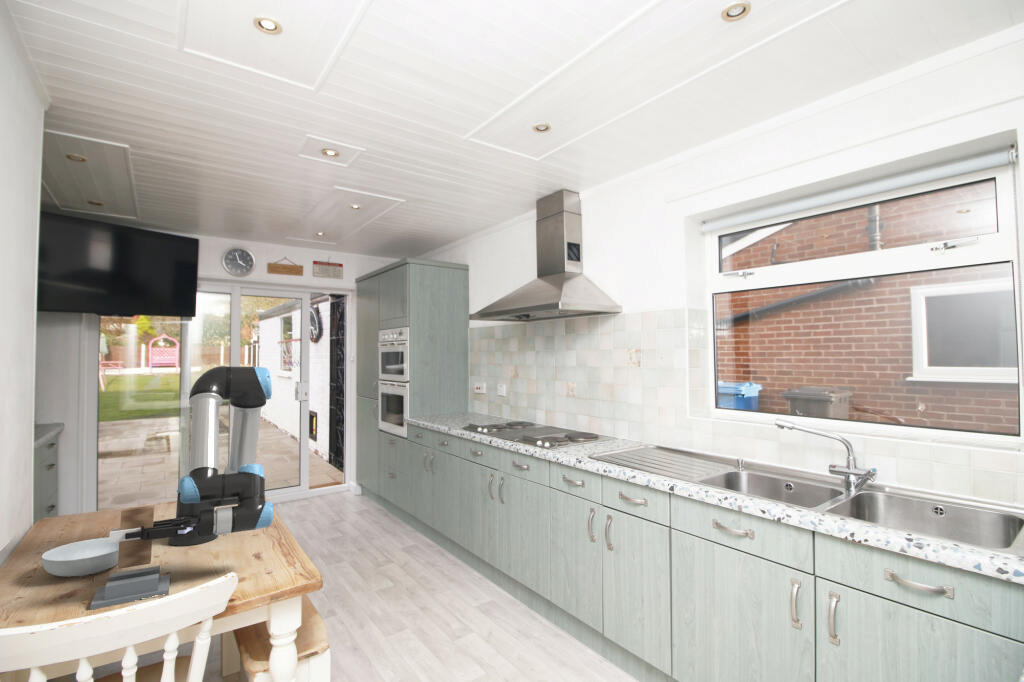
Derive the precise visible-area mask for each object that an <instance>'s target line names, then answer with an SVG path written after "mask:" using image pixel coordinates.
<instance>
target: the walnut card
mask: <svg viewBox="0 0 1024 682" xmlns="http://www.w3.org/2000/svg"><path fill="white" fill-rule="evenodd" d="M154 518H155V505H154V504H153V505H146V506H137V507H128V508H122V509H121V511H120V525H119V528H120V530H128V529H135V528H141V526H144V528H151V527H153V522H154ZM152 548H153V539H152V540H146V541H145V540H143V539H135V540H128V541H120V542H119V552H118V564H117V570H119V569H121V570H122V569H127V568H131V567H132V568H133V567H140V566H144V565H151V561H152V552H153V551H152Z"/></svg>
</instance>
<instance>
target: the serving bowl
mask: <svg viewBox="0 0 1024 682" xmlns="http://www.w3.org/2000/svg"><path fill="white" fill-rule="evenodd" d="M118 552H119V542H113V543H109V537H99V538H90V539H86V540H80V541H74V542H71V543H67V544H64V545H60V546H57V547H54V548H51V549H48V550H47V551H45V552H44V553H43V554H41V564H42V567H43V569H44V570H45V571H46V572H47V573H49V574H51V575H53V576H55V577H71V576H79V577H86V576H90V575H89V574H91V575H95V574H98V573H101V572H103V571H106V570H107V569H110V568H113V567H115V566H118ZM100 571H101V572H100ZM97 572H98V573H97ZM94 573H95V574H94ZM85 575H86V576H85Z"/></svg>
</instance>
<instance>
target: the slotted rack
mask: <svg viewBox="0 0 1024 682" xmlns="http://www.w3.org/2000/svg"><path fill="white" fill-rule="evenodd" d="M160 574H161V565H156V566H151V567H145V568H138V569H132V570H125V571H120V572H115V573H114V572H113V573H110V574H109V577H108V582H106V583H105V584H106V585H104V586H99V587H97V589H96V592H95V593H94V596H93V599H92V600H91V603H90V606H89V610H96V609H97V610H98V609H101V608H108V607H113V606H118V605H122V604H128V603H133V602H136V601H135V600H139V599H142V598H149V597H152V596H155V595H163V594H165V595H164V596H168V595H170V594H169V593H170V583H171V574H167V575H166V574H165V575H160ZM149 599H150V598H149ZM139 601H140V600H139ZM112 605H113V606H112Z"/></svg>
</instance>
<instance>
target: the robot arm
mask: <svg viewBox="0 0 1024 682" xmlns="http://www.w3.org/2000/svg"><path fill="white" fill-rule="evenodd" d="M272 388H273V387H272V379H271V374H270V370H269V369H268V368H267V367H263V366H262V367H260V366H226V365H225V366H223V365H220V366H215V367H212V368H210V369H209V370H206V371H205V372H204V373H203V374H201V375H200V377H198V379H196V381H194V383H193V385H192V387H191V389H190V391H189V396H188V397H189V399H188V403H189V406H190V407H191V408H192V410H191V413H192V414H191V429H190V447H189V448H190V449H189V466H188V467H189V471H188V474H186V475H184V476H182V477H180V479H179V480H178V484H177V490H176V492H177V497H176V498H177V499H176V508H175V509H176V511H175V513H176V514H175V518H168V519H160V520H155V521H154V520H153V527H151V528H144V526H141V528H135V529H128V530H120V527H116V528H111V530H110V532H109V543H113V542H120V541H128V540H135V539H143V540H145V541H146V540H152V541H153V540H159V539H168V542H169V543H170V544H172V545H171V546H175V545H177V546H179V547H182V546H183V547H184V546H186V545H187V546H194V544H195V545H200V544H204V543H203V542H205V543H208V542H211V541H214V540H215V539H217V538H218V537H219V536H218V535H222V536H225V537H226V536H227V534H230V533H231V534H232V533H240V532H246V531H256V530H258V529H259V530H260V529H265V528H269V527H271V525H272V524H273V521H274V504H273V502H272V501H266V496H265V494H266V491H265V489H266V478H265V476H266V475H265V467H264V466H263V465H262V464H259V463H256V461H257V451H258V450H257V449H258V442H259V441H258V440H259V431H260V420H261V411H262V408H263V407H265V406H266V404H267V400H271V399H272V397H273V393H272V392H273V389H272ZM225 400H227V401H229V405H230V406H232V407H233V419H232V430H231V443H230V453H229V465H227V466H226V467H225V468H224V469H223V473H219V455H220V454H219V450H220V449H219V448H220V446H219V444H220V407H221V406H222V404H223V403H224V401H225ZM215 508H216V509H215ZM210 540H211V541H210ZM207 541H208V542H207ZM169 543H168V544H169ZM199 543H200V544H199ZM170 544H169V545H170ZM177 546H176V547H177Z"/></svg>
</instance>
